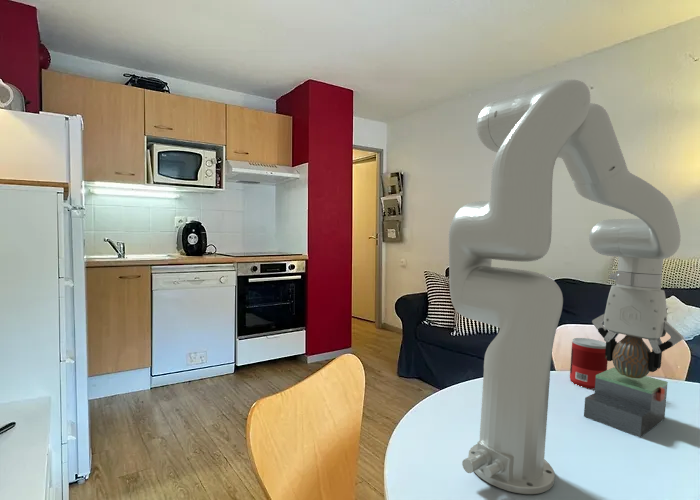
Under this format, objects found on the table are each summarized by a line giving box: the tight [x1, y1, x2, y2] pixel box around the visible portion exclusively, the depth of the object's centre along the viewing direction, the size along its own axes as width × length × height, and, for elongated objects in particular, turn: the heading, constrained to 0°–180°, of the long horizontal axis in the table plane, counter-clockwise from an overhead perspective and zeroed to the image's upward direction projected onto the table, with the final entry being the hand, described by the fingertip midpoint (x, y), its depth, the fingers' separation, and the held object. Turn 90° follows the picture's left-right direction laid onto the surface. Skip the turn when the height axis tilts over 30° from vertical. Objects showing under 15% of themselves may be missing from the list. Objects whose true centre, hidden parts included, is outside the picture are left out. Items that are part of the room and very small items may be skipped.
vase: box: [612, 335, 652, 378], centre depth 83 cm, size 7×7×9 cm
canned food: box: [569, 337, 609, 390], centre depth 102 cm, size 8×8×11 cm
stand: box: [583, 366, 669, 438], centre depth 82 cm, size 14×11×8 cm
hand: (631, 364), depth 84 cm, fingers closed on vase, 6 cm apart
